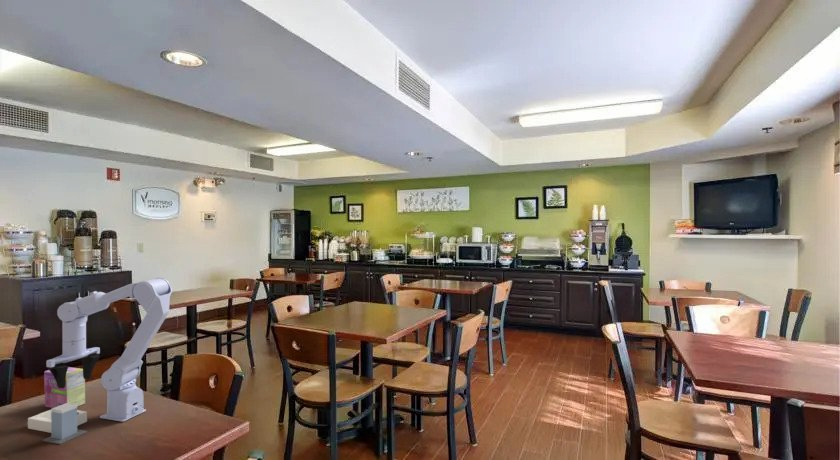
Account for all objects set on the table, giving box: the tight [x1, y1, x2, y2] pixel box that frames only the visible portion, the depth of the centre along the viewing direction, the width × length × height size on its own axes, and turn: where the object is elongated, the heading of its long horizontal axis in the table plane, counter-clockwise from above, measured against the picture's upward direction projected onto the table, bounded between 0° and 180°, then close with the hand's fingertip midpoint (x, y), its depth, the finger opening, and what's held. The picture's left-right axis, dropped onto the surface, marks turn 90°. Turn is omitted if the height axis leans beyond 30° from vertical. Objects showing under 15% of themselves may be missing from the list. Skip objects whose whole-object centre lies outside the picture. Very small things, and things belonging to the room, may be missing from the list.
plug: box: [50, 403, 78, 439], centre depth 119 cm, size 4×4×8 cm
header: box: [27, 409, 88, 433], centre depth 125 cm, size 12×8×4 cm, turn 75°
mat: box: [42, 428, 88, 445], centre depth 119 cm, size 6×7×1 cm
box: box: [43, 366, 86, 409], centre depth 139 cm, size 10×6×12 cm, turn 73°
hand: (74, 383), depth 132 cm, fingers open, 7 cm apart
